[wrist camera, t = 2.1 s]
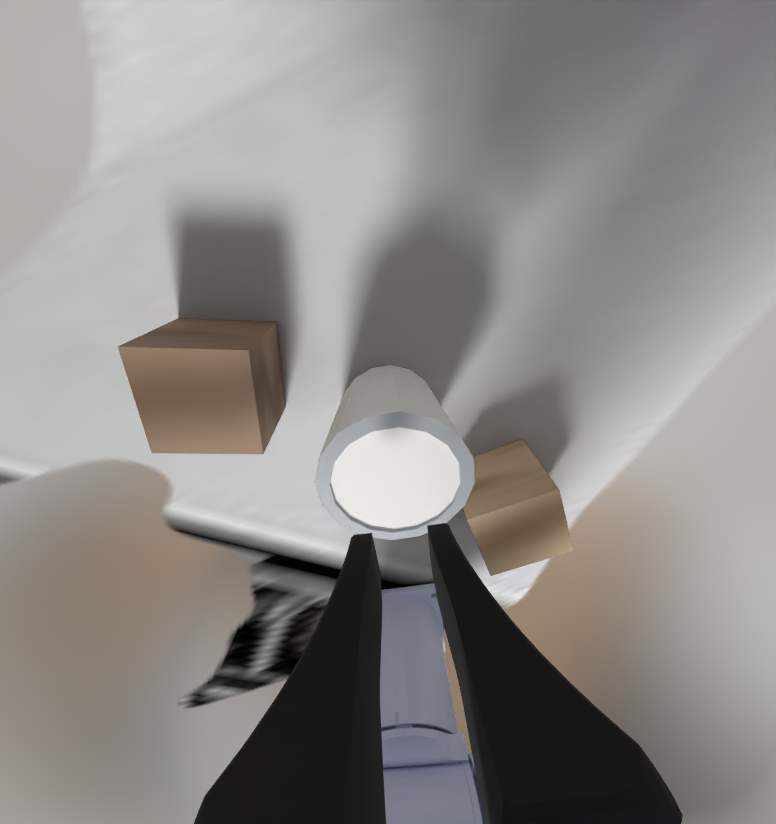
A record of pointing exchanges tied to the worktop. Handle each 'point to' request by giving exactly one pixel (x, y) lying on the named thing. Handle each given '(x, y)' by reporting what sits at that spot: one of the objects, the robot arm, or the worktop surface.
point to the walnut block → (207, 385)
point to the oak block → (515, 509)
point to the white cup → (393, 458)
